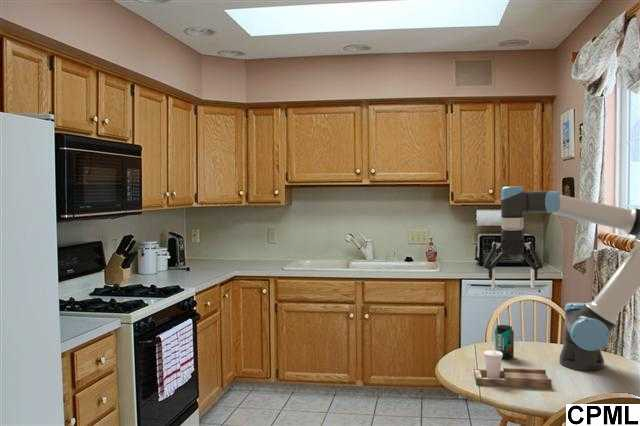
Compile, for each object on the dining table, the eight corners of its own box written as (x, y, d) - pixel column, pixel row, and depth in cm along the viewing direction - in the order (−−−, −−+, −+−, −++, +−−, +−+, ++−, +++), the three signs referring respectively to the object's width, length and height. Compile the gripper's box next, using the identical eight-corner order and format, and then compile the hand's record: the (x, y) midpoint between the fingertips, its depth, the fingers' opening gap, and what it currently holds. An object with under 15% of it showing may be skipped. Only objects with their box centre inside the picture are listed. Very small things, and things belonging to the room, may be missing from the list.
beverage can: (517, 358, 213) (517, 328, 212) (501, 360, 211) (501, 329, 210) (507, 353, 219) (507, 323, 219) (491, 355, 218) (491, 325, 217)
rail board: (545, 378, 191) (545, 369, 191) (551, 388, 182) (551, 379, 182) (474, 374, 196) (474, 366, 196) (476, 384, 187) (476, 375, 186)
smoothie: (492, 384, 186) (492, 344, 185) (479, 378, 192) (479, 339, 191) (507, 381, 189) (507, 341, 188) (494, 375, 194) (494, 337, 194)
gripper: (546, 227, 198) (547, 286, 200) (475, 228, 203) (476, 285, 204) (551, 229, 191) (551, 290, 192) (477, 230, 196) (478, 289, 197)
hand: (512, 287), depth 198 cm, fingers open, 13 cm apart
